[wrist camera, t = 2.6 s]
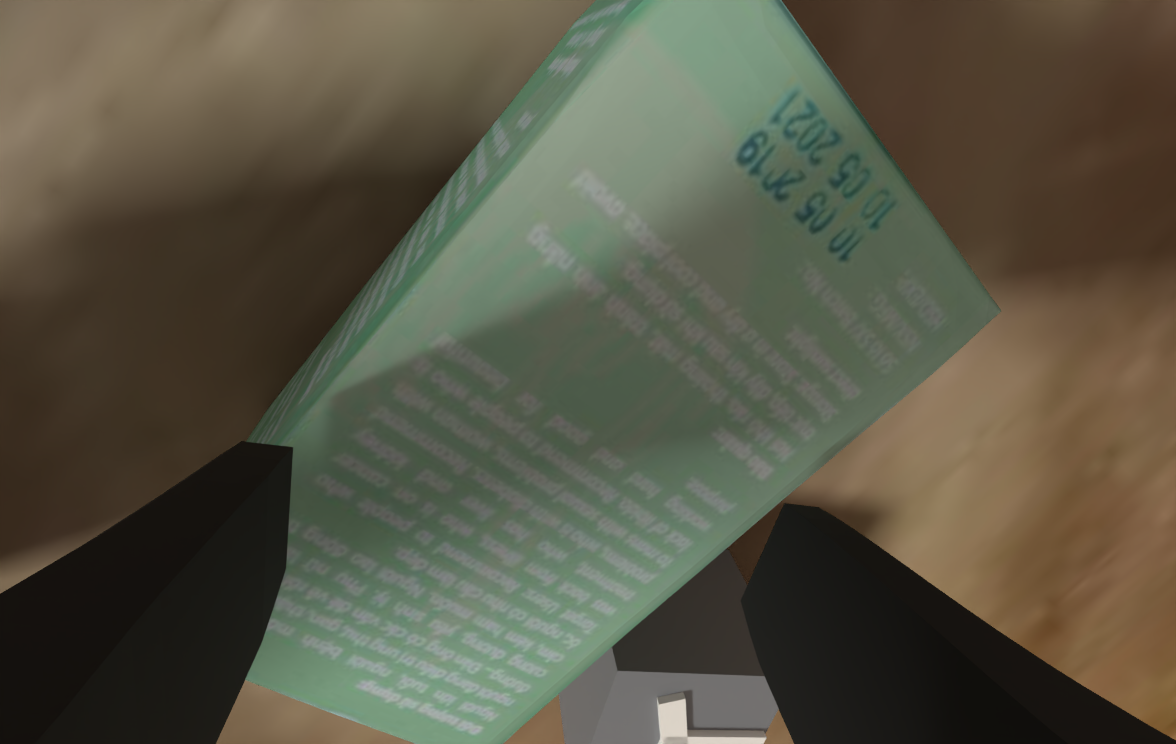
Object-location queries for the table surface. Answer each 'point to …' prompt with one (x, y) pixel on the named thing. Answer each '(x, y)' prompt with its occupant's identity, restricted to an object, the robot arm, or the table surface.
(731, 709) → the charcoal cube
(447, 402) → the box
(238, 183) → the table surface
